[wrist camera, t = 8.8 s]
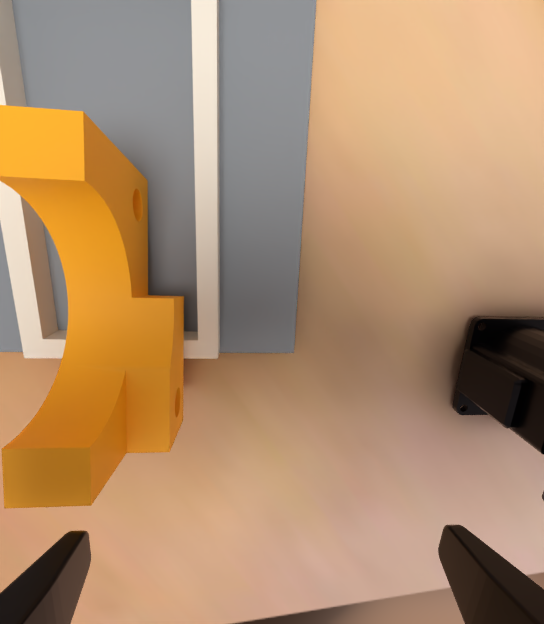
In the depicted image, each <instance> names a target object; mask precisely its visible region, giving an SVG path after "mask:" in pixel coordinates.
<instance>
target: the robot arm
mask: <svg viewBox="0 0 544 624" xmlns="http://www.w3.org/2000/svg"><path fill="white" fill-rule="evenodd" d="M480 323H481V327H480V328H478V326H479V324H480ZM462 405H463V407H462V408H460V407H461V406H462ZM453 409H454V410H455V411H456V412H457V413H458V414H460V415H490V416H491V417H492V418H494V419H495V420H496V421H497V422H499V423H500V424H501V425H503V426H504V427H505V428H510V429H511V430H512V431H514V432H515V433H516V434H517V435H519V436H520V437H521V438H523V439H524V440H525V441H526V442H528V443H529V444H530V445H532V446H533V447H534V448H535V449H537V450H538V451H539V452H541V453H542V454H544V318H527V317H476V318H474V319H473V320H472V321H471V323H470V326H469V331H468V335H467V340H466V345H465V349H464V354H463V358H462V363H461V368H460V373H459V377H458V382H457V387H456V392H455V396H454V401H453ZM542 499H543V500H544V492H543V495H542ZM438 553H439V558H440V561H441V563H442V566H443V569H444V571H445V574H446V576H447V579H448V581H449V584H450V587H451V589H452V592H453V594H454V597H455V599H456V602H457V605H458V607H459V610H460V612H461V614H462V617H463V620H464V622H465V624H544V590H543V589H542V588H541V587H540V586H539V585H537V584H536V583H535V582H534V581H532V580H531V579H530V578H528V577H527V576H526V575H525V574H523V573H522V572H521V571H520V570H518V569H517V568H516V567H514V566H513V565H512V564H511V563H509V562H508V561H507V560H505V559H504V558H503V557H502V556H500V555H499V554H498V553H497V552H495V551H494V550H493V549H491V548H490V547H489V546H488V545H486V544H485V543H484V542H482V541H481V540H480V539H479V538H477V537H476V536H475V535H474V534H472V533H471V532H470V531H468V530H467V529H466V528H465V527H463V526H461V525H446V526H445V527H444V529H443V532H442V536H441V540H440V544H439V548H438ZM90 562H91V551H90V542H89V534H88V532H87V531H70V532H68V533H66V534H65V535H64V536H63V537H62V538H61V539H60V540H59V541H57V542H56V543H55V544H54V545H53V546H52V547H51V548H50V549H49V550H47V551H46V552H45V553H44V554H43V555H42V556H41V557H40V558H39V559H38V560H36V561H35V562H34V563H33V564H32V565H31V566H30V567H29V568H28V569H26V570H25V571H24V572H23V573H22V574H21V575H20V576H19V577H18V578H17V579H15V580H14V581H13V582H12V583H11V584H10V585H9V586H8V587H7V588H5V589H4V590H3V591H2V592H1V593H0V624H70V623H71V620H72V617H73V614H74V611H75V609H76V606H77V603H78V600H79V597H80V594H81V591H82V588H83V585H84V582H85V579H86V576H87V573H88V570H89V567H90Z"/></svg>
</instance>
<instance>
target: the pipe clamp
mask: <svg viewBox="0 0 544 624" xmlns="http://www.w3.org/2000/svg"><path fill="white" fill-rule="evenodd" d="M0 181H1V182H3V183H4V184H6V185H7V186H9V187H11V188H12V189H13V190H14V191H16V192H17V193H18V194H19V195H21V196H22V197H23V198H24V199H25V200H26V201H27V202H28V203H29V204H30V206H31V207H32V208H33V209H34V210H35V211H36V213H37V214H38V215H39V217H40V218H41V220H42V221H43V223H44V224H45V226H46V228H47V229H48V231H49V233H50V235H51V237H52V239H53V241H54V244H55V246H56V248H57V251H58V254H59V257H60V260H61V263H62V267H63V270H64V275H65V280H66V287H67V296H68V327H67V336H66V343H65V348H64V353H63V357H62V361H61V364H60V367H59V370H58V373H57V376H56V378H55V381H54V383H53V386H52V388H51V390H50V392H49V394H48V396H47V398H46V400H45V401H44V403H43V405H42V406H41V408H40V409H39V411H38V412H37V414H36V415H35V417H34V418H33V419H32V420H31V422H30V423H29V424H28V425H27V426H26V428H25V429H24V430H23V431H22V432H21V433H20V434H19V435H18V436H17V437H16V438H15V439H13V440H12V441H11V442H10V443H9V444H7V445H6V446H5V447H3V448H2V466H3V488H4V508H29V507H60V506H91V505H92V503H93V502H94V500H95V499H96V498H97V496H98V495H99V493H100V492H101V490H102V489H103V487H104V486H105V484H106V483H107V481H108V480H109V478H110V477H111V475H112V474H113V472H114V471H115V469H116V468H117V466H118V465H119V463H120V462H121V460H122V459H123V457H124V456H125V454H126V453H148V452H170V450H171V447H172V445H173V443H174V440H175V438H176V436H177V433H178V431H179V428H180V426H181V424H182V421H183V359H184V296H160V295H148V180H147V179H146V178H145V177H144V176H143V175H142V174H141V173H140V172H139V171H138V170H137V169H136V168H135V166H134V165H133V164H132V163H131V162H130V161H129V160H128V159H127V158H126V157H125V156H124V155H123V154H122V152H121V151H120V150H119V149H118V148H117V147H116V146H115V145H114V144H113V143H112V142H111V141H110V140H109V138H108V137H107V136H106V135H105V134H104V133H103V132H102V131H101V130H100V129H99V128H98V127H97V126H96V124H95V123H94V122H93V121H92V120H91V119H90V118H89V117H88V116H87V115H86V114H85V113H84V112H83V111H73V110H60V109H47V108H34V107H21V106H8V105H0Z"/></svg>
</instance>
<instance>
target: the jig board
mask: <svg viewBox="0 0 544 624" xmlns="http://www.w3.org/2000/svg"><path fill="white" fill-rule="evenodd" d="M315 13H316V0H0V105H8V106H21V107H34V108H47V109H60V110H73V111H83V112H84V113H85V114H86V115H87V116H88V117H89V118H90V119H91V120H92V121H93V122H94V123H95V124H96V126H97V127H98V128H99V129H100V130H101V131H102V132H103V133H104V134H105V135H106V136H107V137H108V138H109V140H110V141H111V142H112V143H113V144H114V145H115V146H116V147H117V148H118V149H119V150H120V151H121V152H122V154H123V155H124V156H125V157H126V158H127V159H128V160H129V161H130V162H131V163H132V164H133V165H134V166H135V168H136V169H137V170H138V171H139V172H140V173H141V174H142V175H143V176H144V177H145V178H146V179H147V180H148V295H160V296H184V359H218V356H219V353H294V345H295V329H296V313H297V297H298V281H299V266H300V250H301V234H302V218H303V202H304V187H305V171H306V155H307V139H308V123H309V108H310V92H311V76H312V60H313V44H314V29H315ZM67 327H68V296H67V287H66V280H65V275H64V270H63V267H62V263H61V260H60V257H59V254H58V251H57V248H56V246H55V244H54V241H53V239H52V237H51V235H50V233H49V231H48V229H47V228H46V226H45V224H44V223H43V221H42V220H41V218H40V217H39V215H38V214H37V213H36V211H35V210H34V209H33V208H32V207H31V206H30V204H29V203H28V202H27V201H26V200H25V199H24V198H23V197H22V196H21V195H19V194H18V193H17V192H16V191H14V190H13V189H12V188H11V187H9V186H7V185H6V184H4V183H3V182H1V181H0V352H23V354H24V358H62V357H63V353H64V348H65V343H66V336H67Z"/></svg>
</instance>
